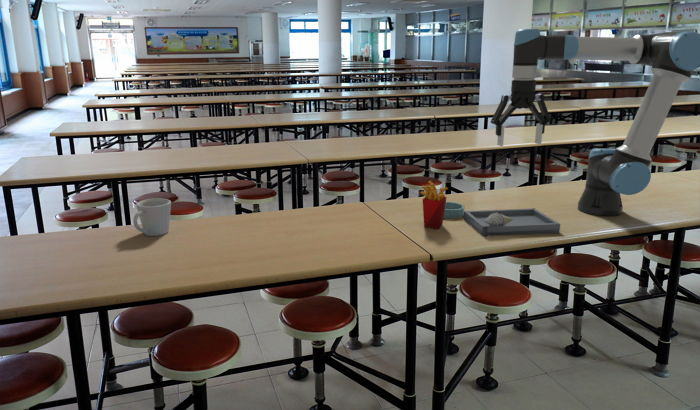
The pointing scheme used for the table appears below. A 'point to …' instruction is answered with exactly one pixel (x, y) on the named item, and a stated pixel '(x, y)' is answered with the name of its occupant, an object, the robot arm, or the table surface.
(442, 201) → the french fries
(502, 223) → the soft serve swirl
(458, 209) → the teal ring
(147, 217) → the mug
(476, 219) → the tray
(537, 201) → the table surface
